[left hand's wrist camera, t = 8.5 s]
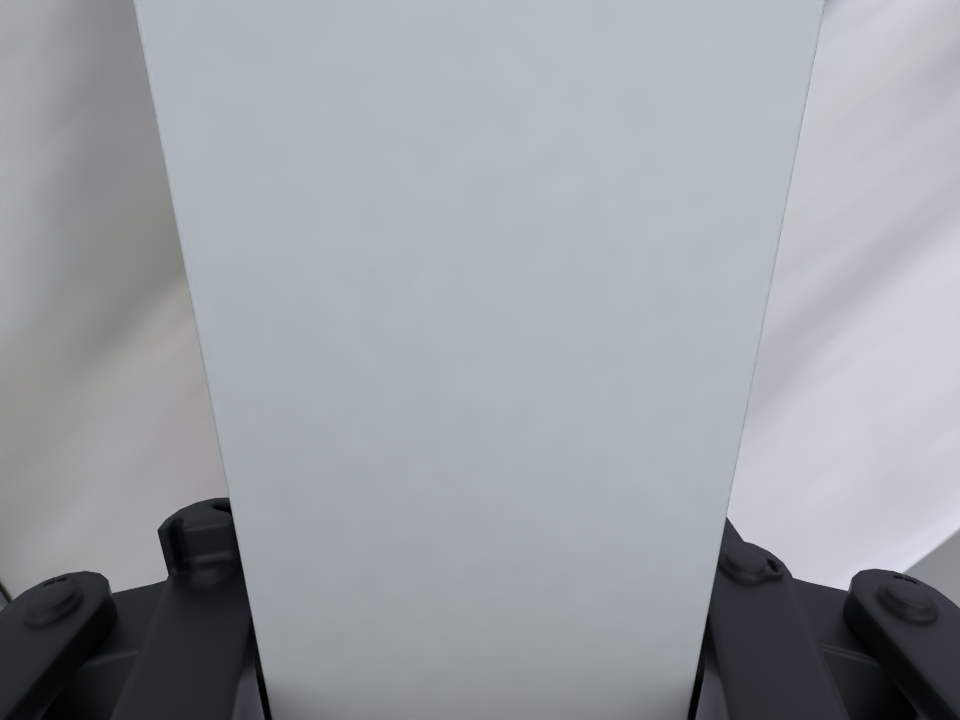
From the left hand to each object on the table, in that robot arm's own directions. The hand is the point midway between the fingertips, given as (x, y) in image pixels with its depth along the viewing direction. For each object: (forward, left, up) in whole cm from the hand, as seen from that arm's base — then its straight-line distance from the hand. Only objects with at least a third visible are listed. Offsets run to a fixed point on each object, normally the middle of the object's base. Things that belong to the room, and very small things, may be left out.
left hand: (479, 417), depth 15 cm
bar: (-4, +8, -1) cm, 9 cm away
